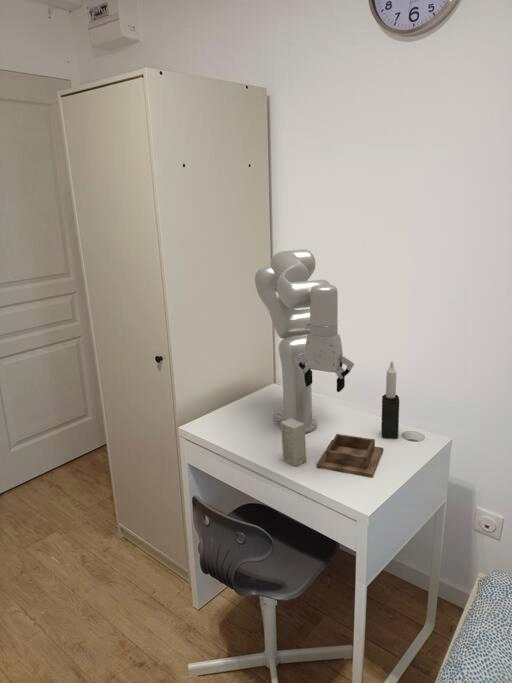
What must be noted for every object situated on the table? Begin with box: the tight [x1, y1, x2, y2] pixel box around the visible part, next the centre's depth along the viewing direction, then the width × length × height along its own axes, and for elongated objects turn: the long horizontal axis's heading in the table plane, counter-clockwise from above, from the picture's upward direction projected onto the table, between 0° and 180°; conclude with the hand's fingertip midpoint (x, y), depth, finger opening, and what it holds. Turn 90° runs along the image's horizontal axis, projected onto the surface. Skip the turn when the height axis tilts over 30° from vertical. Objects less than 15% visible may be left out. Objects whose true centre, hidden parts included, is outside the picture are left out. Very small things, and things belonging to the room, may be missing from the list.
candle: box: [380, 360, 400, 440], centre depth 158 cm, size 5×5×25 cm
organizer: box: [316, 433, 384, 478], centre depth 147 cm, size 16×16×4 cm
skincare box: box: [280, 418, 307, 467], centre depth 147 cm, size 6×4×12 cm
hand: (324, 387), depth 143 cm, fingers open, 9 cm apart
